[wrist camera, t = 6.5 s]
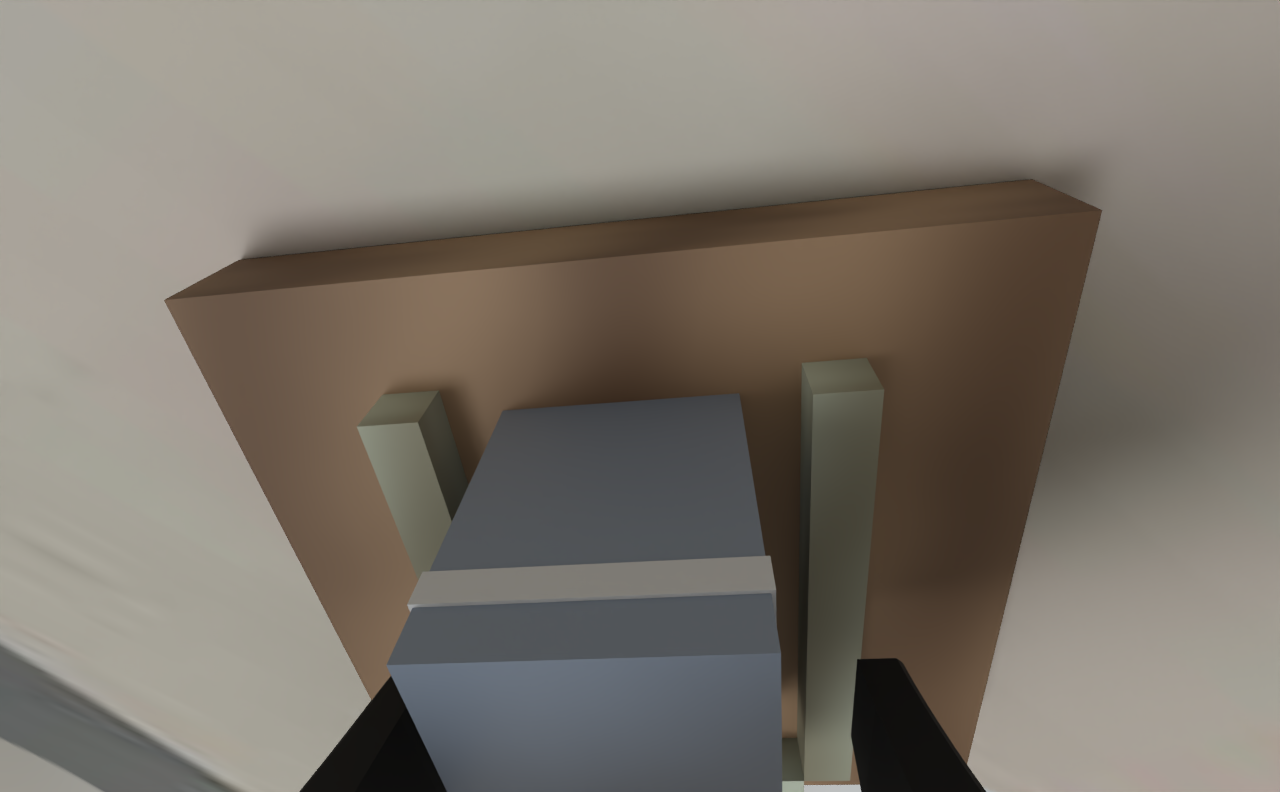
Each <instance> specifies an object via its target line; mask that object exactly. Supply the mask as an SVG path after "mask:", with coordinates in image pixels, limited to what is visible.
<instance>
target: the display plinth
mask: <svg viewBox="0 0 1280 792" xmlns="http://www.w3.org/2000/svg"><path fill="white" fill-rule="evenodd" d="M1101 212H1102V210H1100V209H1098V208H1096V207H1094V206H1091V205H1089V204H1087V203H1085V202H1082V201H1080V200H1078V199H1076V198H1073V197H1071V196H1069V195H1066V194H1064V193H1062V192H1060V191H1057V190H1055V189H1053V188H1051V187H1048V186H1046V185H1044V184H1042V183H1039V182H1037V181H1035V180H1033V179H1030V180H1021V181H1011V182H1001V183H991V184H981V185H971V186H962V187H952V188H942V189H932V190H922V191H912V192H903V193H893V194H883V195H873V196H863V197H853V198H844V199H834V200H824V201H814V202H804V203H794V204H785V205H775V206H765V207H755V208H745V209H735V210H726V211H716V212H706V213H696V214H686V215H676V216H667V217H657V218H647V219H637V220H627V221H617V222H608V223H598V224H588V225H578V226H568V227H558V228H549V229H539V230H529V231H519V232H509V233H499V234H490V235H480V236H470V237H460V238H450V239H440V240H431V241H421V242H411V243H401V244H391V245H381V246H372V247H362V248H352V249H342V250H332V251H322V252H313V253H303V254H293V255H283V256H273V257H263V258H254V259H244V260H238V261H236V262H234V263H232V264H231V265H229V266H227V267H225V268H223V269H221V270H219V271H218V272H216V273H214V274H212V275H210V276H208V277H206V278H204V279H203V280H201V281H199V282H197V283H195V284H193V285H191V286H190V287H188V288H186V289H184V290H182V291H180V292H178V293H176V294H175V295H173V296H171V297H169V298H167V299H165V300H164V301H165V303H166V305H167V307H168V309H169V310H170V312H171V314H172V316H173V318H174V320H175V322H176V324H177V326H178V328H179V330H180V332H181V334H182V336H183V337H184V339H185V341H186V343H187V345H188V347H189V349H190V351H191V353H192V355H193V357H194V359H195V361H196V363H197V364H198V366H199V368H200V370H201V372H202V374H203V376H204V378H205V380H206V382H207V384H208V386H209V388H210V390H211V391H212V393H213V395H214V397H215V399H216V401H217V403H218V405H219V407H220V409H221V411H222V413H223V415H224V417H225V418H226V420H227V422H228V424H229V426H230V428H231V430H232V432H233V434H234V436H235V438H236V440H237V442H238V444H239V445H240V447H241V449H242V451H243V453H244V455H245V457H246V459H247V461H248V463H249V465H250V467H251V469H252V470H253V472H254V474H255V476H256V478H257V480H258V482H259V484H260V486H261V488H262V490H263V492H264V494H265V496H266V497H267V499H268V501H269V503H270V505H271V507H272V509H273V511H274V513H275V515H276V517H277V519H278V521H279V523H280V524H281V526H282V528H283V530H284V532H285V534H286V536H287V538H288V540H289V542H290V544H291V546H292V548H293V550H294V551H295V553H296V555H297V557H298V559H299V561H300V563H301V565H302V567H303V569H304V571H305V573H306V575H307V577H308V578H309V580H310V582H311V584H312V586H313V588H314V590H315V592H316V594H317V596H318V598H319V600H320V602H321V604H322V605H323V607H324V609H325V611H326V613H327V615H328V617H329V619H330V621H331V623H332V625H333V627H334V629H335V631H336V632H337V634H338V636H339V638H340V640H341V642H342V644H343V646H344V648H345V650H346V652H347V654H348V656H349V658H350V659H351V661H352V663H353V665H354V667H355V669H356V671H357V673H358V675H359V677H360V679H361V681H362V683H363V685H364V686H365V688H366V690H367V692H368V694H369V696H370V698H371V700H372V699H373V698H374V696H375V695H376V694H377V693H378V691H379V690H380V689H381V688H382V686H383V685H384V684H385V682H386V681H387V680H388V679H389V677H390V676H391V674H390V672H389V670H388V668H387V666H386V665H387V662H388V660H389V658H390V656H391V654H392V652H393V649H394V647H395V645H396V643H397V641H398V638H399V636H400V634H401V632H402V630H403V628H404V625H405V623H406V621H407V619H408V617H409V614H410V610H409V608H408V606H407V604H408V602H409V600H410V597H411V595H412V593H413V591H414V589H415V587H416V585H417V582H418V580H419V578H420V576H421V574H422V572H429V571H430V569H431V566H432V564H433V562H434V560H435V558H436V555H437V553H438V551H439V549H440V547H441V544H442V542H443V540H444V538H445V536H446V534H447V531H448V529H449V527H450V525H451V523H452V520H453V518H454V516H455V514H456V512H457V510H458V507H459V505H460V503H461V501H462V499H463V496H464V494H465V492H466V490H467V488H468V486H469V483H470V481H471V479H472V477H473V475H474V472H475V470H476V468H477V466H478V464H479V461H480V459H481V457H482V455H483V453H484V451H485V448H486V446H487V444H488V442H489V440H490V437H491V435H492V433H493V431H494V429H495V427H496V424H497V422H498V420H499V418H500V416H501V413H502V411H505V410H518V409H532V408H546V407H559V406H573V405H587V404H600V403H614V402H628V401H641V400H655V399H669V398H682V397H696V396H710V395H723V394H737V393H739V395H740V401H741V407H742V413H743V420H744V426H745V432H746V438H747V445H748V451H749V457H750V463H751V469H752V476H753V482H754V488H755V494H756V501H757V507H758V513H759V519H760V525H761V532H762V538H763V544H764V550H765V556H770V557H771V563H772V568H773V574H774V580H775V586H776V618H777V631H778V638H779V644H780V650H781V703H782V792H804V785H845V784H846V785H848V784H849V785H850V784H851V785H852V784H853V785H855V784H860V781H859V776H858V771H857V766H856V760H855V755H854V750H853V745H852V739H851V727H852V715H853V703H854V691H855V679H856V667H857V659H880V658H897V659H898V660H900V661H901V662H902V663H903V664H904V666H905V667H906V669H907V671H908V673H909V675H910V676H911V678H912V680H913V681H914V683H915V685H916V687H917V688H918V690H919V692H920V693H921V695H922V697H923V698H924V700H925V701H926V703H927V705H928V706H929V708H930V709H931V711H932V713H933V714H934V716H935V717H936V719H937V721H938V722H939V724H940V725H941V727H942V728H943V730H944V731H945V733H946V734H947V736H948V737H949V739H950V740H951V742H952V743H953V745H954V747H955V748H956V750H957V751H958V752H959V754H960V755H961V757H962V758H963V760H964V761H965V763H966V764H967V762H968V758H969V753H970V749H971V745H972V741H973V737H974V733H975V729H976V725H977V721H978V717H979V712H980V708H981V704H982V700H983V696H984V692H985V688H986V684H987V680H988V676H989V671H990V667H991V663H992V659H993V655H994V651H995V647H996V643H997V639H998V635H999V630H1000V626H1001V622H1002V618H1003V614H1004V610H1005V606H1006V602H1007V598H1008V594H1009V589H1010V585H1011V581H1012V577H1013V573H1014V569H1015V565H1016V561H1017V557H1018V553H1019V548H1020V544H1021V540H1022V536H1023V532H1024V528H1025V524H1026V520H1027V516H1028V512H1029V507H1030V503H1031V499H1032V495H1033V491H1034V487H1035V483H1036V479H1037V475H1038V471H1039V466H1040V462H1041V458H1042V454H1043V450H1044V446H1045V442H1046V438H1047V434H1048V430H1049V425H1050V421H1051V417H1052V413H1053V409H1054V405H1055V401H1056V397H1057V393H1058V389H1059V384H1060V380H1061V376H1062V372H1063V368H1064V364H1065V360H1066V356H1067V352H1068V348H1069V344H1070V339H1071V335H1072V331H1073V327H1074V323H1075V319H1076V315H1077V311H1078V307H1079V303H1080V298H1081V294H1082V290H1083V286H1084V282H1085V278H1086V274H1087V270H1088V266H1089V262H1090V257H1091V253H1092V249H1093V245H1094V241H1095V237H1096V233H1097V229H1098V225H1099V221H1100V216H1101Z"/></svg>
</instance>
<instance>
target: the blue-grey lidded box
mask: <svg viewBox="0 0 1280 792" xmlns="http://www.w3.org/2000/svg"><path fill="white" fill-rule="evenodd" d="M407 606H408V608H409V610H410V614H409V617H408V619H407V621H406V623H405V625H404V628H403V630H402V632H401V634H400V636H399V638H398V641H397V643H396V645H395V647H394V649H393V652H392V654H391V656H390V658H389V660H388V662H387V665H386V666H387V668H388V670H389V672H390V674H391V676H392V678H393V680H394V682H395V685H396V687H397V689H398V691H399V693H400V695H401V697H402V699H403V701H404V703H405V705H406V707H407V709H408V712H409V714H410V716H411V718H412V720H413V722H414V724H415V726H416V728H417V730H418V732H419V734H420V736H421V738H422V741H423V743H424V745H425V747H426V749H427V751H428V753H429V755H430V757H431V759H432V761H433V763H434V765H435V768H436V770H437V772H438V774H439V776H440V778H441V780H442V782H443V784H444V786H445V788H446V790H447V792H782V703H781V650H780V644H779V638H778V631H777V618H776V586H775V580H774V574H773V568H772V563H771V557H770V556H765V550H764V544H763V538H762V532H761V525H760V519H759V513H758V507H757V501H756V494H755V488H754V482H753V476H752V469H751V463H750V457H749V451H748V445H747V438H746V432H745V426H744V420H743V413H742V407H741V401H740V395H739V393H737V394H723V395H710V396H696V397H682V398H669V399H655V400H641V401H628V402H614V403H600V404H587V405H573V406H559V407H546V408H532V409H518V410H505V411H502V413H501V416H500V418H499V420H498V422H497V424H496V427H495V429H494V431H493V433H492V435H491V437H490V440H489V442H488V444H487V446H486V448H485V451H484V453H483V455H482V457H481V459H480V461H479V464H478V466H477V468H476V470H475V472H474V475H473V477H472V479H471V481H470V483H469V486H468V488H467V490H466V492H465V494H464V496H463V499H462V501H461V503H460V505H459V507H458V510H457V512H456V514H455V516H454V518H453V520H452V523H451V525H450V527H449V529H448V531H447V534H446V536H445V538H444V540H443V542H442V544H441V547H440V549H439V551H438V553H437V555H436V558H435V560H434V562H433V564H432V566H431V569H430V571H429V572H422V574H421V576H420V578H419V580H418V582H417V585H416V587H415V589H414V591H413V593H412V595H411V597H410V600H409V602H408V604H407Z"/></svg>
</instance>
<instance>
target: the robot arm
mask: <svg viewBox="0 0 1280 792" xmlns="http://www.w3.org/2000/svg"><path fill="white" fill-rule="evenodd" d="M851 739H852V745H853V750H854V755H855V760H856V766H857V771H858V776H859V781H860V786H861V791H862V792H986V791H985V790H984V788H983V787H982V785H981V784H980V783H979V781H978V780H977V778H976V777H975V776H974V774H973V773H972V771H971V770H970V769H969V767H968V766H967V764H966V763H965V761H964V760H963V758H962V757H961V755H960V754H959V752H958V751H957V750H956V748H955V747H954V745H953V743H952V742H951V740H950V739H949V737H948V736H947V734H946V733H945V731H944V730H943V728H942V727H941V725H940V724H939V722H938V721H937V719H936V717H935V716H934V714H933V713H932V711H931V709H930V708H929V706H928V705H927V703H926V701H925V700H924V698H923V697H922V695H921V693H920V692H919V690H918V688H917V687H916V685H915V683H914V681H913V680H912V678H911V676H910V675H909V673H908V671H907V669H906V667H905V666H904V664H903V663H902V662H901V661H900V660H898V659H897V658H880V659H857V667H856V679H855V691H854V703H853V715H852V727H851ZM300 792H447V790H446V788H445V786H444V784H443V782H442V780H441V778H440V776H439V774H438V772H437V770H436V768H435V765H434V763H433V761H432V759H431V757H430V755H429V753H428V751H427V749H426V747H425V745H424V743H423V741H422V738H421V736H420V734H419V732H418V730H417V728H416V726H415V724H414V722H413V720H412V718H411V716H410V714H409V712H408V709H407V707H406V705H405V703H404V701H403V699H402V697H401V695H400V693H399V691H398V689H397V687H396V685H395V682H394V680H393V678H392V676H390V677H389V679H388V680H387V681H386V682H385V684H384V685H383V686H382V688H381V689H380V690H379V691H378V693H377V694H376V695H375V696H374V698H373V699H372V700H371V702H370V703H369V704H368V706H367V707H366V708H365V709H364V711H363V712H362V713H361V715H360V716H359V717H358V719H357V720H356V721H355V722H354V724H353V725H352V726H351V728H350V729H349V730H348V731H347V733H346V734H345V735H344V737H343V738H342V739H341V740H340V742H339V743H338V744H337V745H336V747H335V748H334V749H333V751H332V752H331V753H330V754H329V756H328V757H327V758H326V760H325V761H324V762H323V763H322V764H321V766H320V767H319V768H318V769H317V771H316V772H315V773H314V774H313V776H312V777H311V778H310V779H309V781H308V782H307V783H306V784H305V785H304V787H303V788H302V789H301V790H300Z"/></svg>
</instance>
